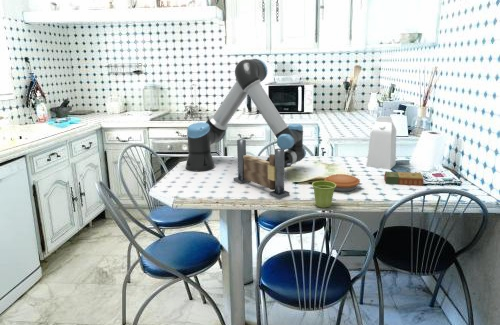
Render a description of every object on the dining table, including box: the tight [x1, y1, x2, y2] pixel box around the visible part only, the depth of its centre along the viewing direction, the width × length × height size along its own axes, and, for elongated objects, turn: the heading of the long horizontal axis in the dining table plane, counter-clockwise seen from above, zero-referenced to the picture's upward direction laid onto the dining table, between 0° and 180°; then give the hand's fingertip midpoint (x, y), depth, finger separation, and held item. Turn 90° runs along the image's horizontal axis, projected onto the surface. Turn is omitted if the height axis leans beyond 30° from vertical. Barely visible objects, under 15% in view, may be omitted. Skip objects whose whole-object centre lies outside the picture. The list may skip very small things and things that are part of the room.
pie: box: [323, 173, 361, 193], centre depth 182 cm, size 15×16×5 cm
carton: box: [383, 170, 424, 187], centre depth 188 cm, size 8×16×4 cm, turn 76°
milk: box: [366, 115, 397, 170], centre depth 213 cm, size 12×12×26 cm
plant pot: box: [311, 180, 336, 209], centre depth 161 cm, size 9×9×9 cm
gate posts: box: [233, 138, 290, 200], centre depth 181 cm, size 32×6×20 cm, turn 38°
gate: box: [243, 153, 275, 191], centre depth 181 cm, size 21×3×15 cm, turn 37°
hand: (260, 170), depth 183 cm, fingers closed
